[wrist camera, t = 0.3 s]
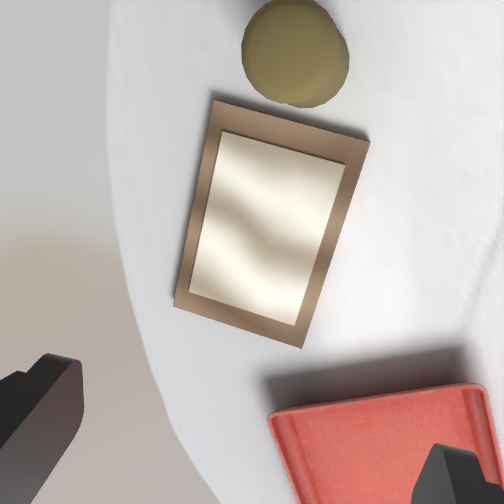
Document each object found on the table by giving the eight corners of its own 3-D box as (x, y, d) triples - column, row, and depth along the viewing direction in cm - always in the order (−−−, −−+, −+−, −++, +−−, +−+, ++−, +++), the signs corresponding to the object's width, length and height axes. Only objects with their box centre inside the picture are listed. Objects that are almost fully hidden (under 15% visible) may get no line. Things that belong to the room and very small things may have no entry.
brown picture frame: (216, 100, 34) (213, 100, 34) (370, 141, 33) (370, 142, 32) (176, 302, 41) (171, 307, 40) (302, 344, 40) (301, 349, 39)
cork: (289, 2, 31) (258, -45, 21) (365, 42, 31) (372, 14, 21) (251, 85, 34) (207, 79, 23) (322, 122, 33) (309, 133, 23)
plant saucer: (512, 527, 42) (525, 561, 38) (322, 538, 47) (320, 568, 44) (474, 359, 37) (485, 382, 34) (270, 391, 42) (263, 414, 39)
